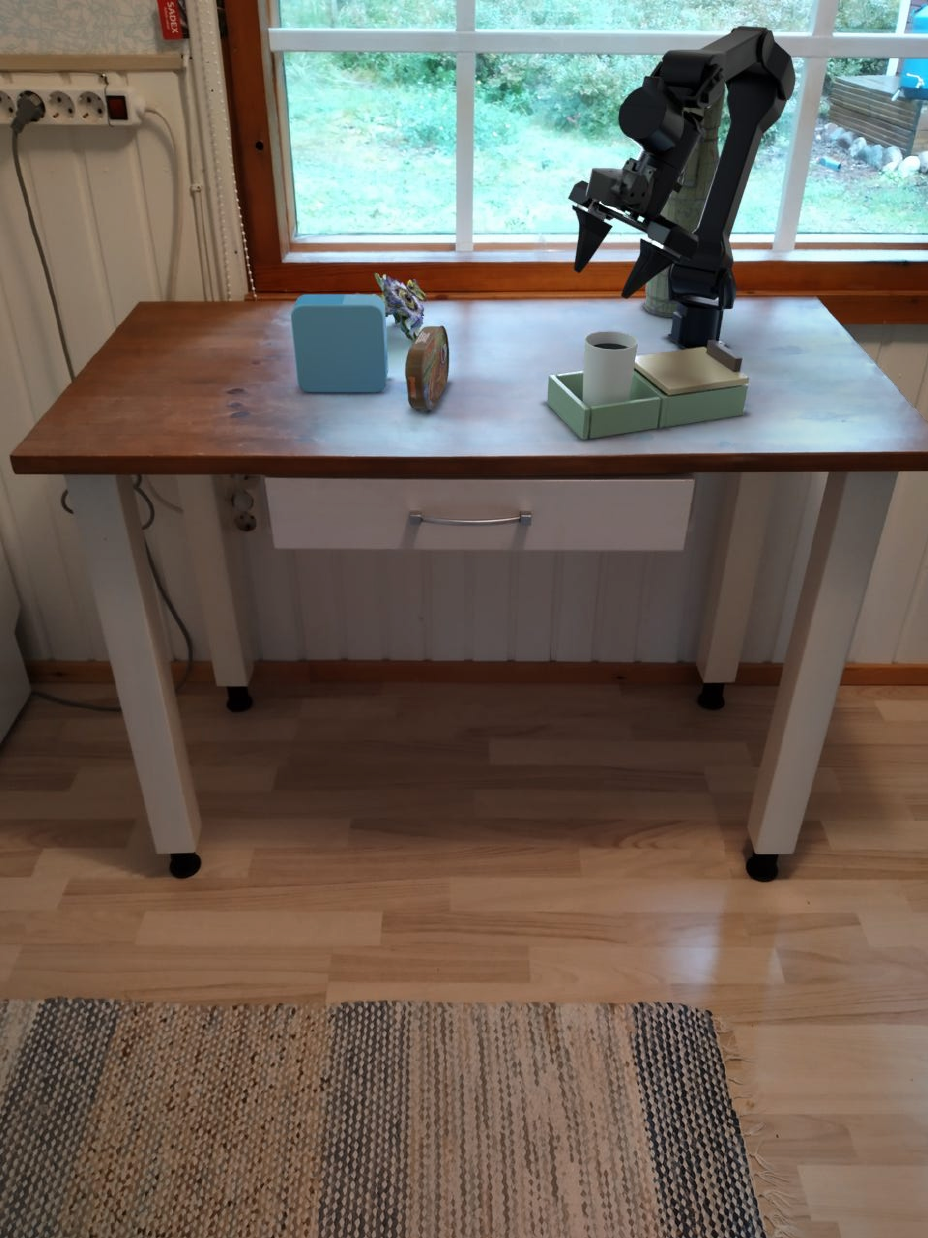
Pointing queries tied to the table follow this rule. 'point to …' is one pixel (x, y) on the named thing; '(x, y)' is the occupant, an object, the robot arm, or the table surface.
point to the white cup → (608, 367)
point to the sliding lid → (693, 368)
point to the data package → (340, 343)
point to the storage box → (639, 406)
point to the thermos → (689, 199)
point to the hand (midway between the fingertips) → (599, 284)
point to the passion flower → (402, 304)
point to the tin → (427, 367)
